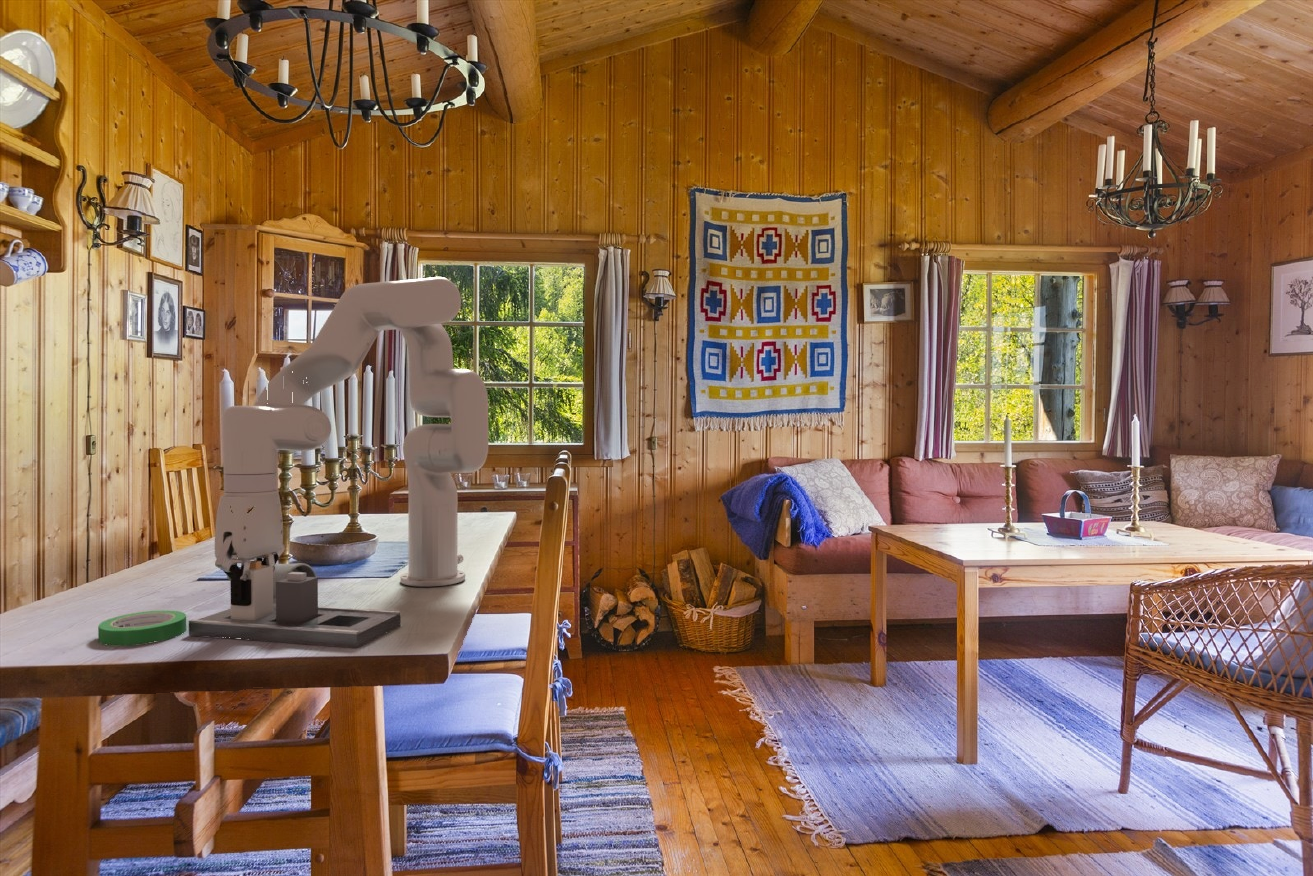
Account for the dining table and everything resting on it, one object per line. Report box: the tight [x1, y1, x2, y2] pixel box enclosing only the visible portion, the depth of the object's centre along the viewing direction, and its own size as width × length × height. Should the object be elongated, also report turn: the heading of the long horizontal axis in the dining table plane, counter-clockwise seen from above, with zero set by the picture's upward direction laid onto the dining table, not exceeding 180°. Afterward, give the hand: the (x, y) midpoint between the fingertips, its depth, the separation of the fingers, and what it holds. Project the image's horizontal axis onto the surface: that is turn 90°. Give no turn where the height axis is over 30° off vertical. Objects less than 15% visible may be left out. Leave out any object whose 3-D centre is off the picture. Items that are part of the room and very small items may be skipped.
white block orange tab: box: [229, 559, 273, 621], centre depth 121 cm, size 4×4×9 cm
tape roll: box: [97, 609, 187, 647], centre depth 117 cm, size 11×11×3 cm
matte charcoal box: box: [276, 572, 319, 624], centre depth 120 cm, size 4×4×9 cm
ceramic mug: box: [273, 562, 317, 604], centre depth 133 cm, size 11×8×8 cm
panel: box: [188, 604, 401, 649], centre depth 120 cm, size 12×28×2 cm, turn 79°
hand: (252, 600), depth 121 cm, fingers closed on white block orange tab, 4 cm apart
